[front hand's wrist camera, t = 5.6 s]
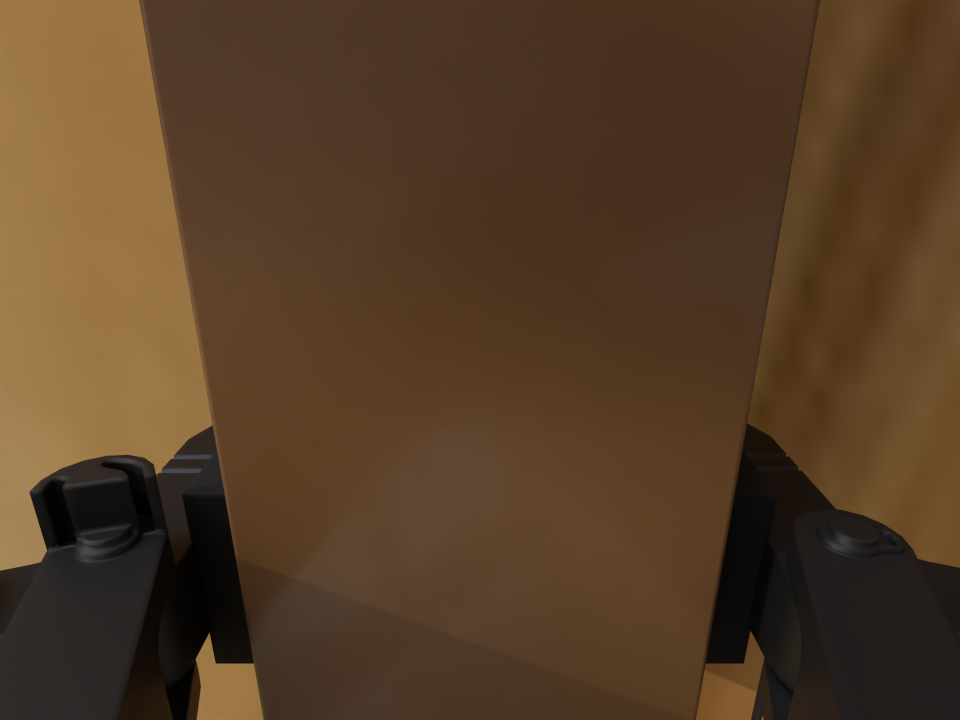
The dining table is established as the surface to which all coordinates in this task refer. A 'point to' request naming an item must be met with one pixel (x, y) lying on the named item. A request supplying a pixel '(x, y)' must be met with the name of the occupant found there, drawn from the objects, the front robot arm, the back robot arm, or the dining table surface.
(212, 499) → the front robot arm
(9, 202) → the dining table surface
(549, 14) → the beam
